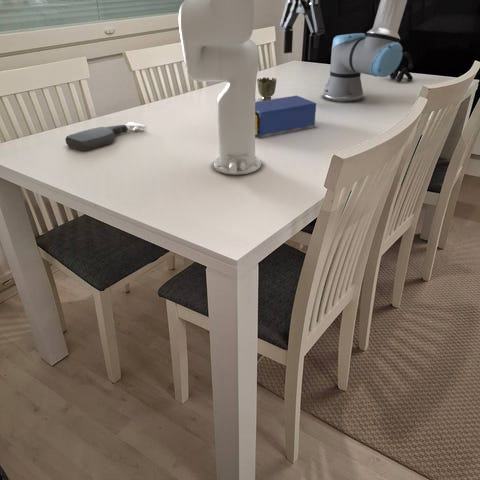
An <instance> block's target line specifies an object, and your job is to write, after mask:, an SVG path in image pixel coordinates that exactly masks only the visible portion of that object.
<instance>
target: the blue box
mask: <svg viewBox="0 0 480 480" xmlns="http://www.w3.org/2000/svg"><path fill="white" fill-rule="evenodd" d="M316 112H317V103H316V102H314V101H312V100H309V99H306V98H304V97H301V96H299V95H290V96H285V97H278V98H273V99H272V98H271V100H265V101H263V100H260V101H255V113H257V114H259V115H260V118H259V131H257V135H256V136H257V137H259V138H266V137H273V136H277V135H278V136H279V135H281V134H282V135H283V134H288V133H292V132H297V131H302V130H303V131H304V130H308V129H313V128H315V127H316Z"/></svg>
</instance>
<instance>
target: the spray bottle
mask: <svg viewBox="0 0 480 480" xmlns="http://www.w3.org/2000/svg"><path fill="white" fill-rule="evenodd" d="M142 129H143V130H145V129H147V126H146V125H144V124H141V123H137V122H133V121H128V123H125V124H118V125H111V126H99V127H93V128H90V129H85V130H81V131H78V132H75V133H72V134H68V135H67V136H66V137H65V139H64V140H65V143H66V145H67V146H68V147H70V148H73V149H75V150H78V151H81V152H86V151H90V150H94V149H98V148H100V147H104V146H107V145H109V144H112V143H114V140H115V138H116V136H117V135H119V134H122V133H123V134H124V133H127V132H128V131H132V132H134V131H136V130H142Z"/></svg>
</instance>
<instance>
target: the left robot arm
mask: <svg viewBox="0 0 480 480" xmlns="http://www.w3.org/2000/svg"><path fill="white" fill-rule="evenodd" d="M254 21H255V0H183V2H182V3H181V5H180V7H179V12H178V27H179V35H180V41H181V47H182V49H181V50H182V53H183V60H184V64H185V65H184V66H185V70H186V74H187V76H188V77H189V78H190V79H191V80H192V81H195V82H222V83H223V82H225V83H226V85H225V86H224V87H223V88H222V90H221V91H220V92H219V94H218V96H217V100H216V110H217V111H216V112H217V133H218V135H217V136H218V137H217V138H218V157H216V158H215V159H214V160H213V167H214V169H215V170H216V171H217V172H219V173H222V174H226V175H233V176H234V175H238V176H239V175H247V174H252V173H254V172H256V171H258V170H259V169H260V168H261V166H262V161H261V159H260V158H259V157H258V156H256V135H255V102H256V90H257V89H256V88H257V79H258V78H257V76H258V70H259V63H260V50H259V47H258V44H257V43H256V42H255V41H254V40H252V39H251V36H252V35H253V31H254Z"/></svg>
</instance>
